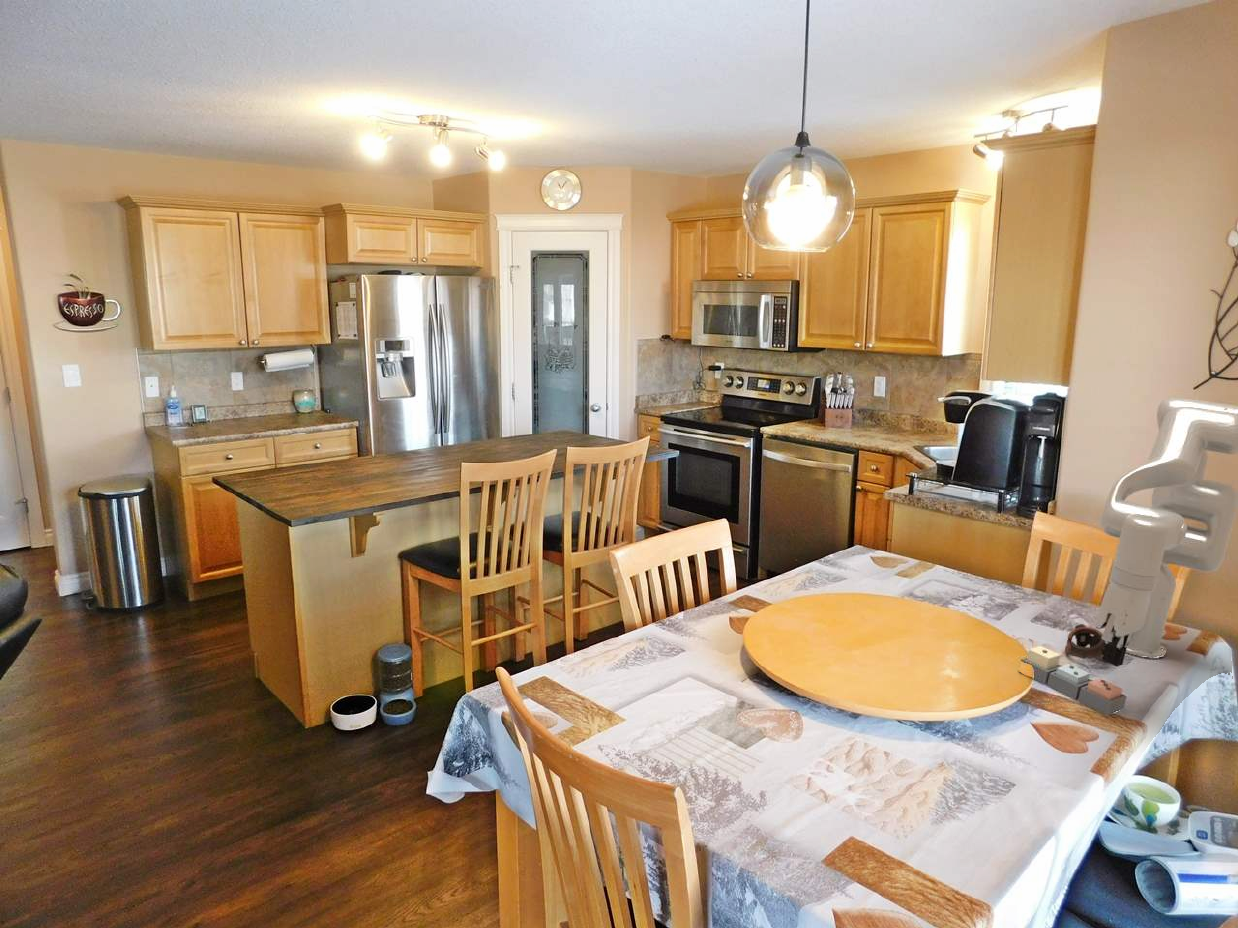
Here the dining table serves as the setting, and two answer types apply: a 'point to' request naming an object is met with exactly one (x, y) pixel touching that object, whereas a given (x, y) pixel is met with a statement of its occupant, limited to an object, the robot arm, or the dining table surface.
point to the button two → (1073, 674)
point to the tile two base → (1065, 686)
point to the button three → (1104, 689)
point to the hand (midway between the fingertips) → (1111, 662)
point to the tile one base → (1041, 672)
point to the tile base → (1101, 701)
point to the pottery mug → (1085, 642)
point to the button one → (1043, 657)
